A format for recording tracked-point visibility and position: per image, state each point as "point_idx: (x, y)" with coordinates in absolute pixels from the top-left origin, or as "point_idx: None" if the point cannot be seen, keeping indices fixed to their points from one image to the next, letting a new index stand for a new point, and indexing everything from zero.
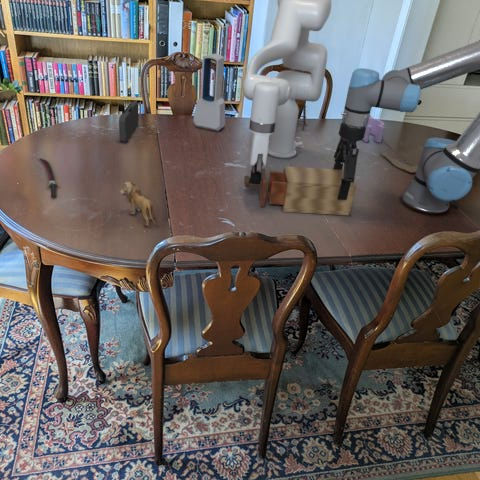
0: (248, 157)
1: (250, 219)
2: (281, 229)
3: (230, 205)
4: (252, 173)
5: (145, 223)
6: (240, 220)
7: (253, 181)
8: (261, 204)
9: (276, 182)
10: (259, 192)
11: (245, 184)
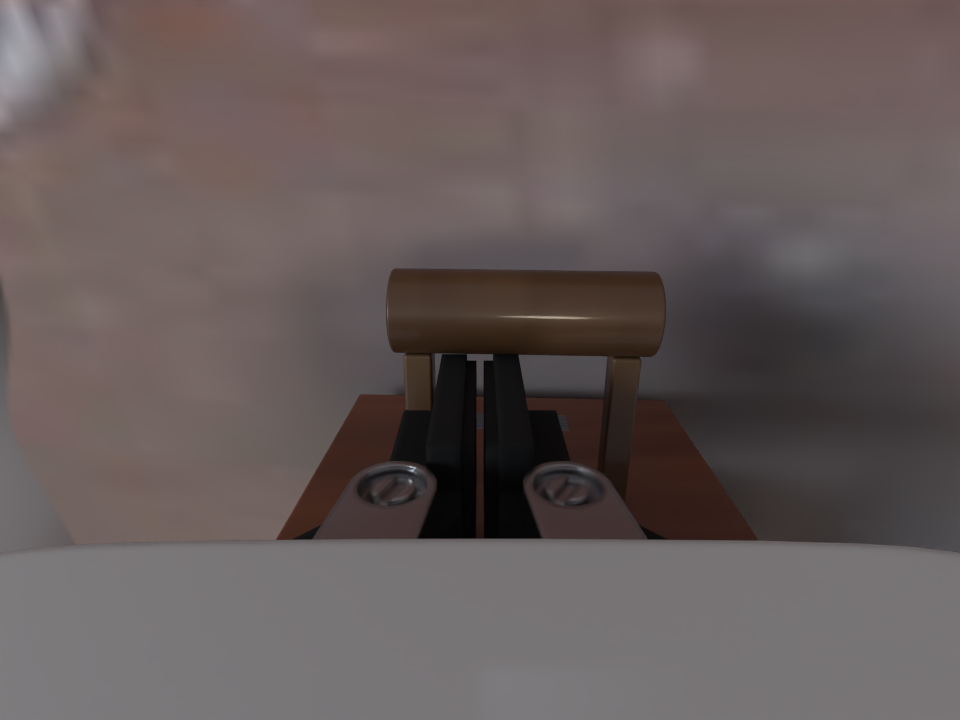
0: (748, 551)
1: (149, 285)
2: (81, 509)
3: (376, 85)
4: (427, 451)
5: None
6: (98, 188)
7: (405, 413)
8: (356, 408)
9: None
10: (583, 412)
11: (391, 280)
